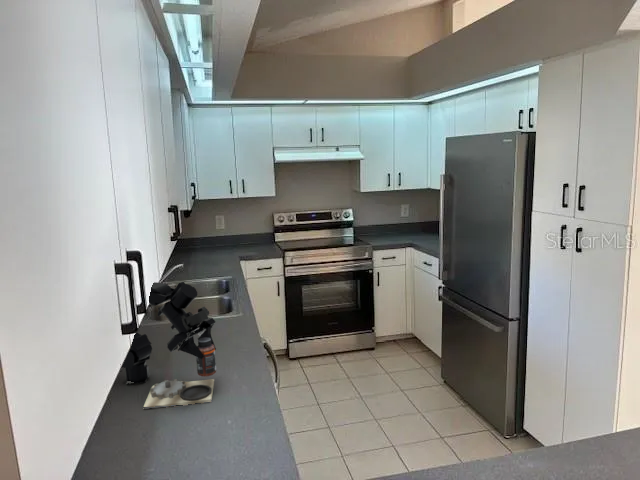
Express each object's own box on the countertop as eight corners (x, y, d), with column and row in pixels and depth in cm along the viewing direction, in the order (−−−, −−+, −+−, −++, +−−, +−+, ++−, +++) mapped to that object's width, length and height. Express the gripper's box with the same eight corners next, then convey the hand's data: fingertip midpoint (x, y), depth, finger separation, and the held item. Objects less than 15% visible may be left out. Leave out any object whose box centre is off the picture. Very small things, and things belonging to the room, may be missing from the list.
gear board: (143, 409, 145) (142, 397, 145) (152, 388, 159) (151, 377, 159) (211, 402, 148) (210, 390, 147) (214, 381, 162) (213, 370, 162)
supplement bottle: (220, 371, 155) (218, 337, 153) (208, 378, 150) (206, 344, 148) (205, 368, 158) (203, 335, 156) (193, 375, 152) (190, 341, 151)
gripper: (171, 310, 143) (205, 350, 140) (209, 293, 160) (239, 329, 157) (153, 332, 147) (185, 371, 145) (191, 314, 164) (220, 349, 162)
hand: (209, 354), depth 152 cm, fingers closed on supplement bottle, 6 cm apart
